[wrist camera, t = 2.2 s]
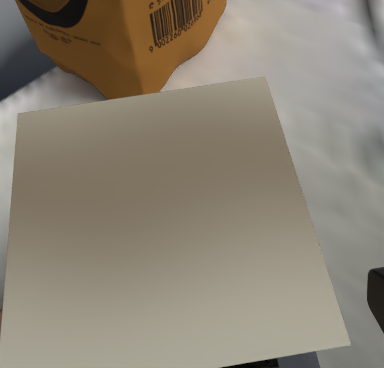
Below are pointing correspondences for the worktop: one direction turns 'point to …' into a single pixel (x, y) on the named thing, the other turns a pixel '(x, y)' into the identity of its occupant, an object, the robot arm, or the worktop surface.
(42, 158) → the post
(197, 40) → the coffee package
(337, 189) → the worktop surface
